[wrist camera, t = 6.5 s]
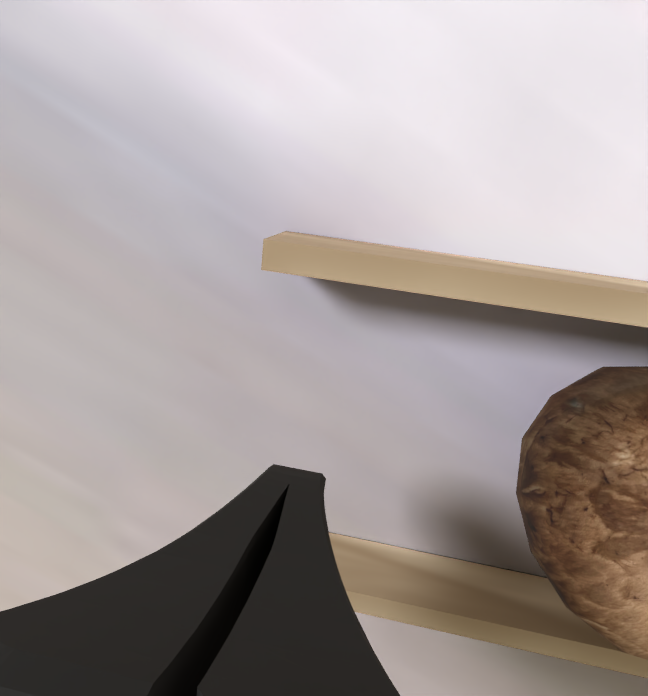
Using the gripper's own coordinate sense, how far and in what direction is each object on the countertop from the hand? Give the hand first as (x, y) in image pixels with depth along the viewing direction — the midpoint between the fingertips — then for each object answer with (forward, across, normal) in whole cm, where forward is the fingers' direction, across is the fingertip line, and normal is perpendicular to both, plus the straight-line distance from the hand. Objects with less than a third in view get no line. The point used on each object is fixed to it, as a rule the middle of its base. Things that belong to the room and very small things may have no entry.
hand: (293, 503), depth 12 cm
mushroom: (+5, -10, -1) cm, 11 cm away
